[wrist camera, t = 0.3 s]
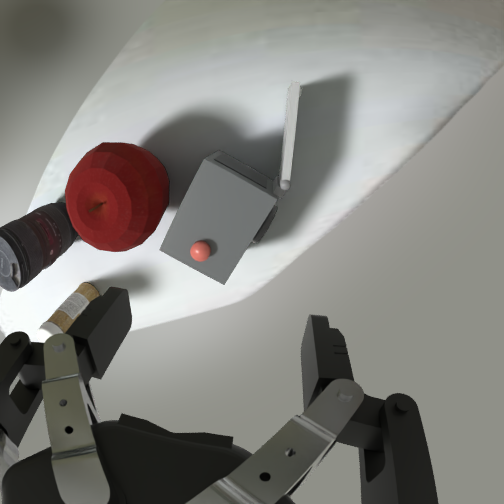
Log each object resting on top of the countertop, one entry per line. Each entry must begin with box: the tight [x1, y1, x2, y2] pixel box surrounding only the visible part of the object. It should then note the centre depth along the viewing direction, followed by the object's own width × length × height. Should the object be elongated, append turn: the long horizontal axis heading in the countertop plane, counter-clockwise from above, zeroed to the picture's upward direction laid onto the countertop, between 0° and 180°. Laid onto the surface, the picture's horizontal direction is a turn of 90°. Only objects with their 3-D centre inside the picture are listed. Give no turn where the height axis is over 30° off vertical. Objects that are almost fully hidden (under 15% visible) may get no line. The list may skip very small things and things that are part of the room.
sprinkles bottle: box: [37, 283, 99, 343], centre depth 40 cm, size 5×5×14 cm
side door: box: [279, 81, 302, 190], centre depth 30 cm, size 1×11×7 cm, turn 175°
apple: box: [65, 142, 169, 252], centre depth 31 cm, size 12×12×13 cm
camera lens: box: [0, 203, 78, 292], centre depth 34 cm, size 8×8×15 cm
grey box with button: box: [160, 150, 286, 285], centre depth 34 cm, size 12×9×9 cm
